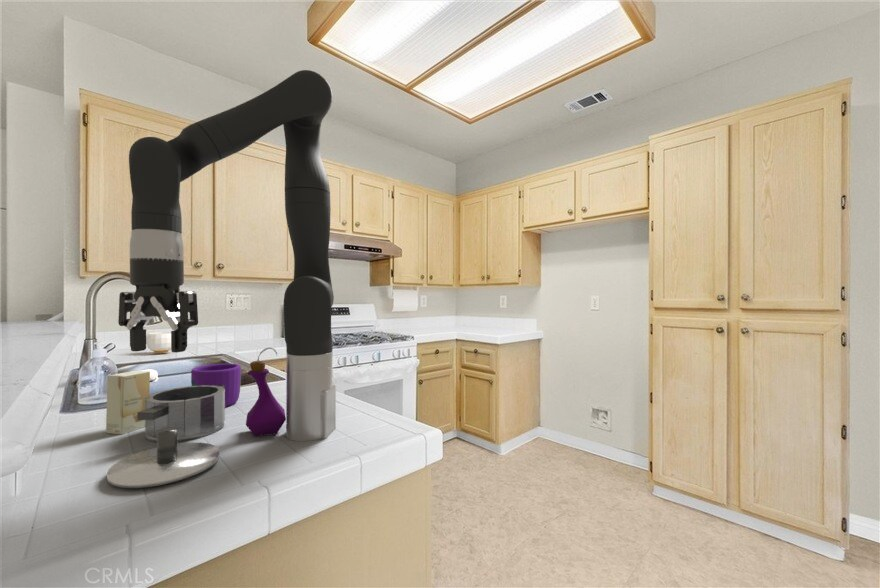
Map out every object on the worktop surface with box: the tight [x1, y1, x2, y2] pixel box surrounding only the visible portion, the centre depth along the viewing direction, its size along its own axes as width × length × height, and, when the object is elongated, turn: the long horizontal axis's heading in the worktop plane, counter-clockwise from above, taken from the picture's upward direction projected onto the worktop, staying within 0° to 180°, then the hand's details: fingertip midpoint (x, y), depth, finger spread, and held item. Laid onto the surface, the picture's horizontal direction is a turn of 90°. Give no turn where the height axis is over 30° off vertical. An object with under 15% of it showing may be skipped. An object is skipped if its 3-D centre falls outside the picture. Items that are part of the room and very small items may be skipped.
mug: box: [190, 363, 242, 408], centre depth 103 cm, size 17×11×10 cm, turn 44°
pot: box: [137, 385, 226, 443], centre depth 81 cm, size 14×22×8 cm, turn 177°
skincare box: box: [105, 370, 151, 435], centre depth 82 cm, size 6×4×12 cm
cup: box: [146, 331, 171, 354], centre depth 192 cm, size 12×12×10 cm
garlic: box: [140, 368, 159, 383], centre depth 129 cm, size 8×7×4 cm
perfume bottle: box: [245, 346, 286, 437], centre depth 81 cm, size 8×8×18 cm
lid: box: [106, 427, 220, 489], centre depth 63 cm, size 15×15×7 cm
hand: (158, 351), depth 66 cm, fingers open, 8 cm apart
